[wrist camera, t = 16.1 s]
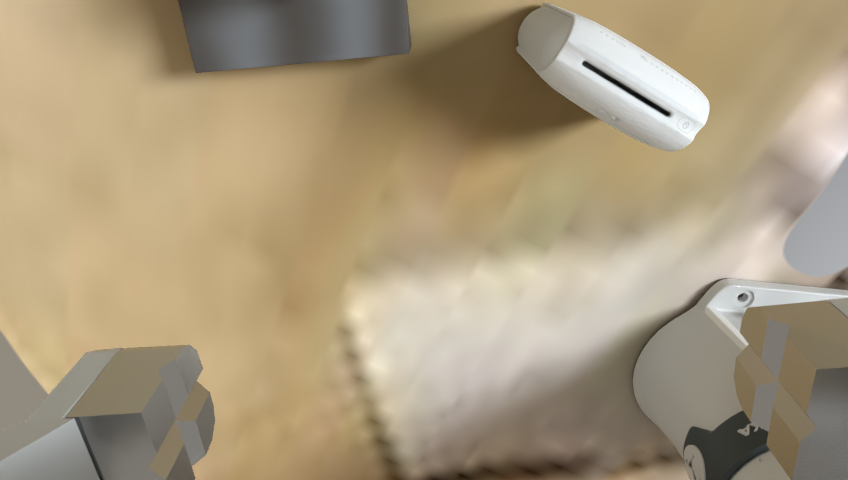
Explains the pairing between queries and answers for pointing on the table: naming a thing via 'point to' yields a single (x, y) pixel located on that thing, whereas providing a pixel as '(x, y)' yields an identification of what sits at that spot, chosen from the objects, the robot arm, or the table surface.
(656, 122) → the photo printer
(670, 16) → the table surface
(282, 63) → the riser block
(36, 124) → the table surface
